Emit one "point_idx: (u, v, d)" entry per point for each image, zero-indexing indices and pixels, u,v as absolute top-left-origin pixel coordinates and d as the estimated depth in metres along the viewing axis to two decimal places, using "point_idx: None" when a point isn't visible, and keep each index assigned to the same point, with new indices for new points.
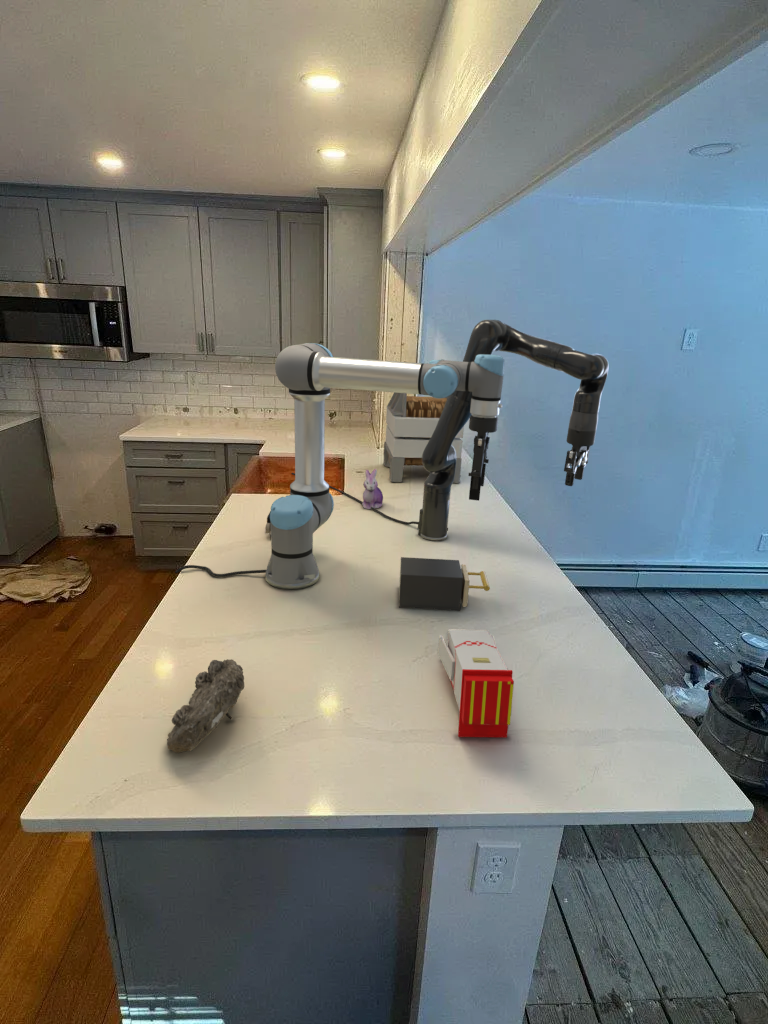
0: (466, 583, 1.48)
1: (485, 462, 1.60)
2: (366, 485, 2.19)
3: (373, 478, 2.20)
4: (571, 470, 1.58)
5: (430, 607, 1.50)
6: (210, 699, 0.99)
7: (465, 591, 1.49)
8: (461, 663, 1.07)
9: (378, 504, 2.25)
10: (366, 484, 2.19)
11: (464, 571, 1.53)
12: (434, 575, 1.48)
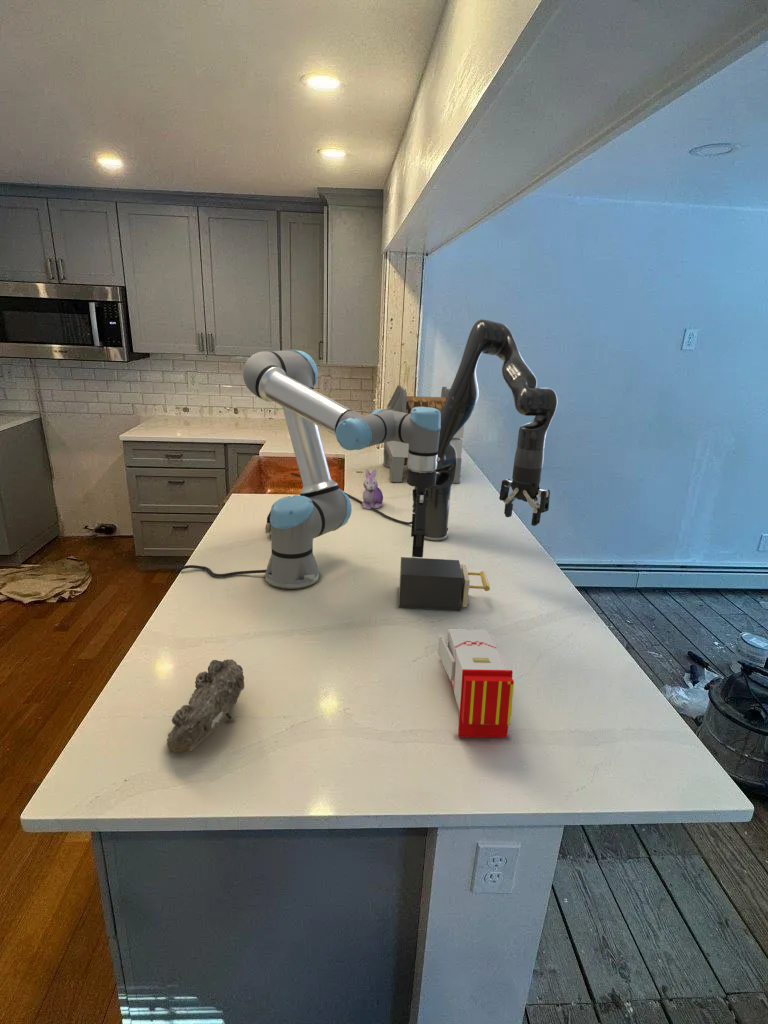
0: (466, 583, 1.48)
1: None
2: (366, 485, 2.19)
3: (373, 478, 2.20)
4: None
5: (430, 607, 1.50)
6: (210, 699, 0.99)
7: (465, 591, 1.49)
8: (461, 663, 1.07)
9: (378, 504, 2.25)
10: (366, 484, 2.19)
11: (464, 571, 1.53)
12: (434, 575, 1.48)
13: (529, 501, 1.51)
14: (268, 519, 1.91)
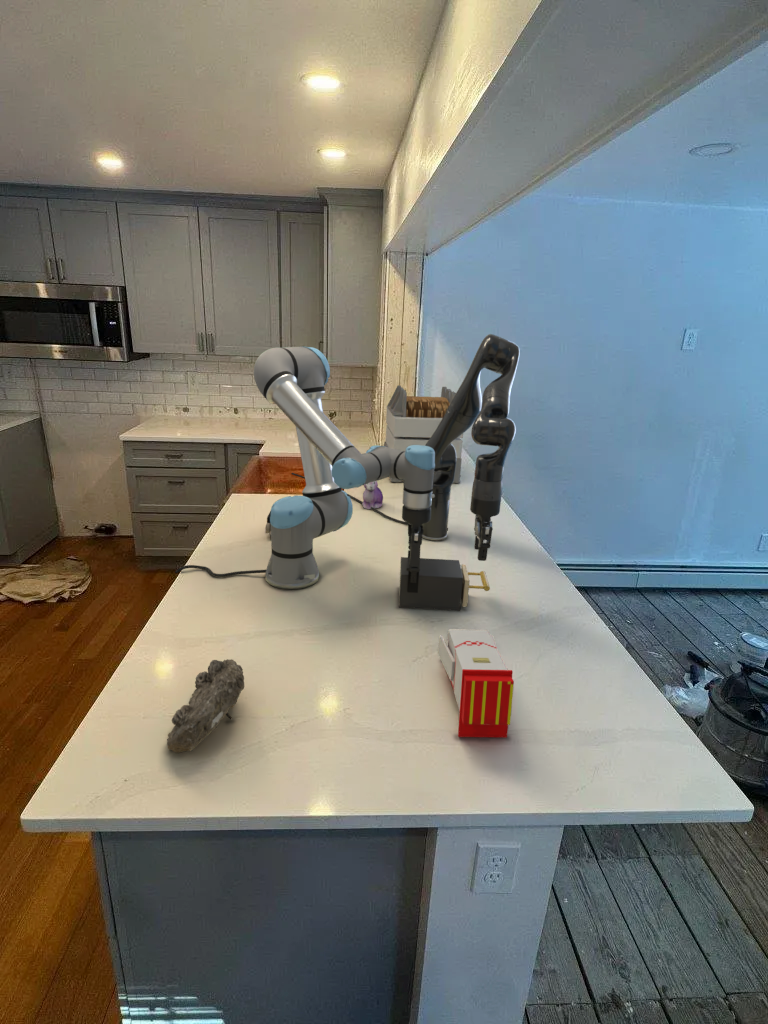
0: (466, 583, 1.48)
1: None
2: (366, 485, 2.19)
3: None
4: None
5: (430, 607, 1.50)
6: (210, 699, 0.99)
7: (465, 591, 1.49)
8: (461, 663, 1.07)
9: (378, 504, 2.25)
10: (366, 484, 2.19)
11: (464, 571, 1.53)
12: (434, 575, 1.48)
13: (477, 533, 1.46)
14: (268, 519, 1.91)
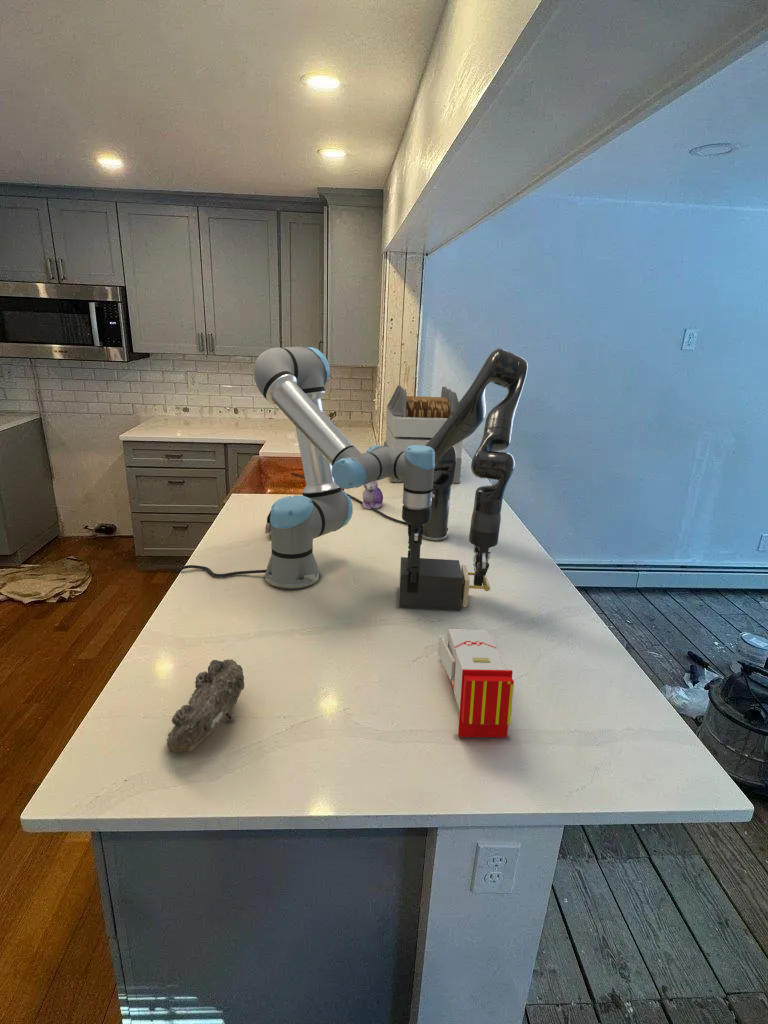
0: (466, 583, 1.48)
1: None
2: (366, 485, 2.19)
3: None
4: None
5: (430, 607, 1.50)
6: (210, 699, 0.99)
7: (465, 591, 1.49)
8: (461, 663, 1.07)
9: (378, 504, 2.25)
10: (366, 484, 2.19)
11: (464, 571, 1.53)
12: (434, 575, 1.48)
13: (474, 561, 1.50)
14: (268, 519, 1.91)
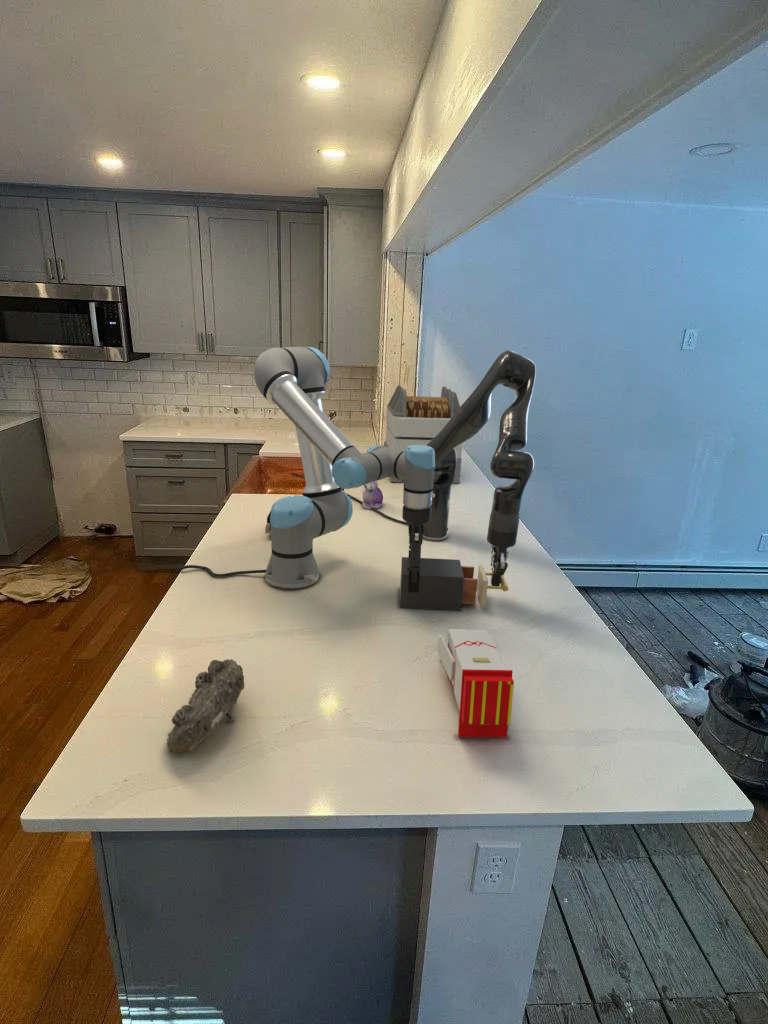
0: (484, 583, 1.48)
1: None
2: (366, 485, 2.19)
3: None
4: None
5: (431, 607, 1.50)
6: (210, 699, 0.99)
7: (483, 591, 1.49)
8: (461, 663, 1.07)
9: (378, 504, 2.25)
10: (366, 484, 2.19)
11: (482, 571, 1.53)
12: (435, 575, 1.48)
13: (492, 561, 1.50)
14: (268, 519, 1.91)
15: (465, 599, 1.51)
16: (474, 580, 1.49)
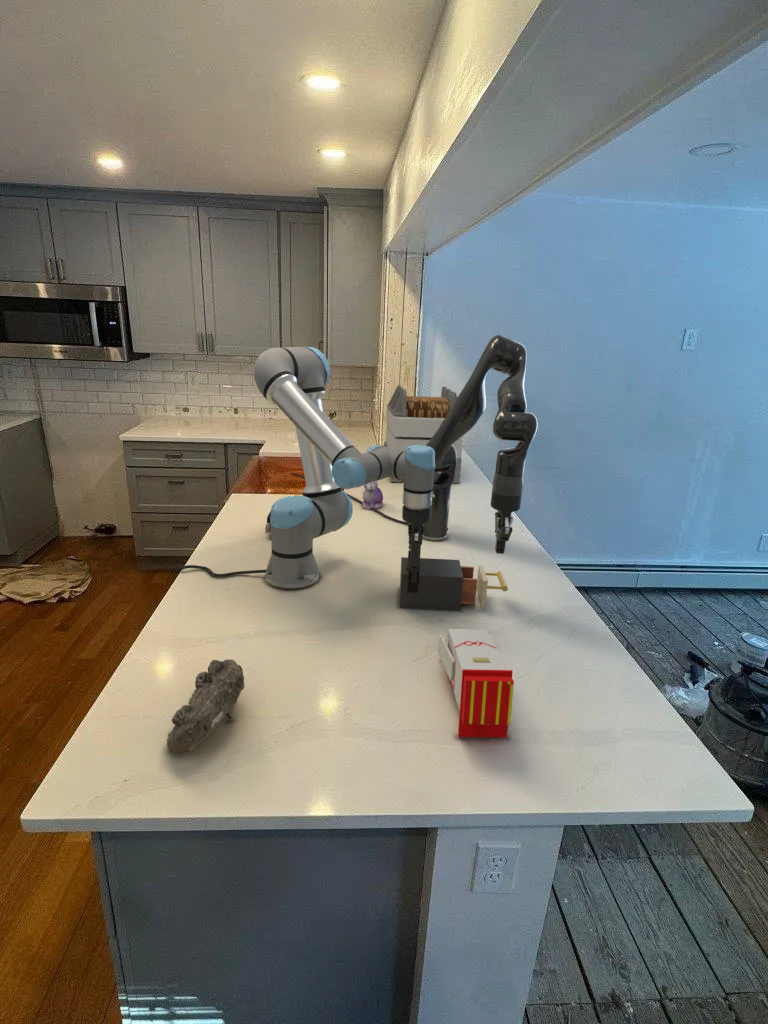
0: (484, 583, 1.48)
1: None
2: (366, 485, 2.19)
3: None
4: None
5: (431, 607, 1.50)
6: (210, 699, 0.99)
7: (483, 591, 1.49)
8: (461, 663, 1.07)
9: (378, 504, 2.25)
10: (366, 484, 2.19)
11: (482, 571, 1.53)
12: (434, 575, 1.48)
13: (496, 527, 1.47)
14: (268, 519, 1.91)
15: (465, 599, 1.51)
16: (474, 581, 1.49)
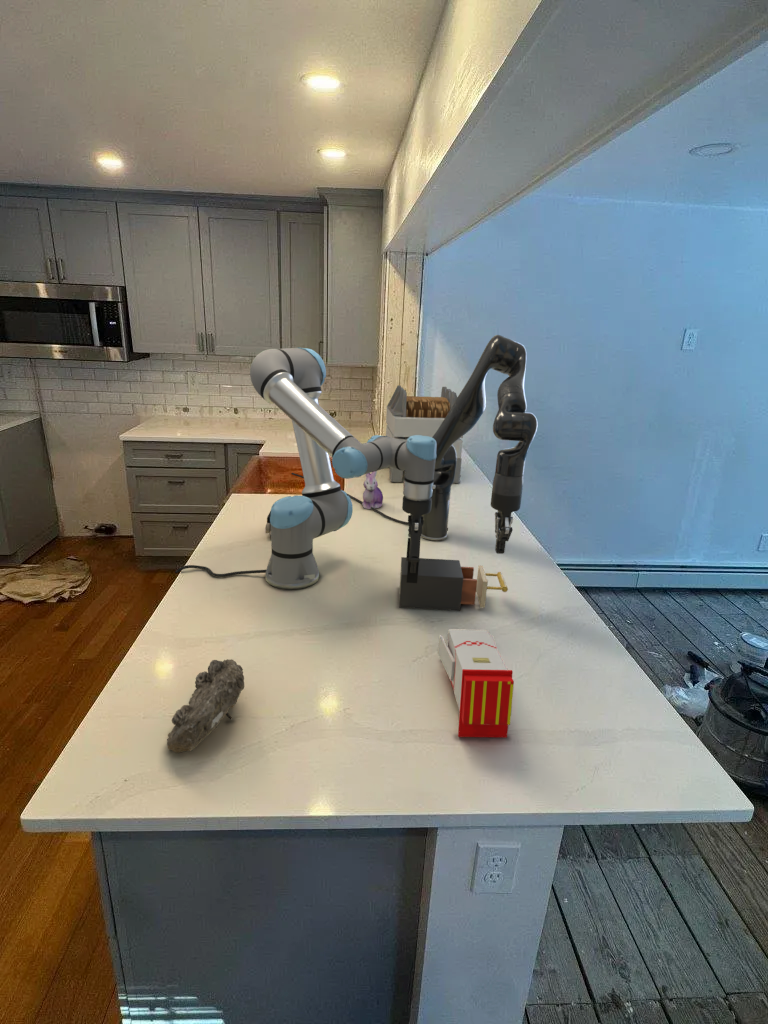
0: (484, 584, 1.48)
1: None
2: (366, 485, 2.19)
3: (373, 478, 2.20)
4: None
5: (430, 607, 1.50)
6: (210, 699, 0.99)
7: (483, 592, 1.49)
8: (461, 663, 1.07)
9: (378, 504, 2.25)
10: (366, 484, 2.19)
11: (481, 572, 1.53)
12: (434, 575, 1.48)
13: (496, 527, 1.47)
14: (268, 519, 1.91)
15: (465, 599, 1.51)
16: (474, 581, 1.49)
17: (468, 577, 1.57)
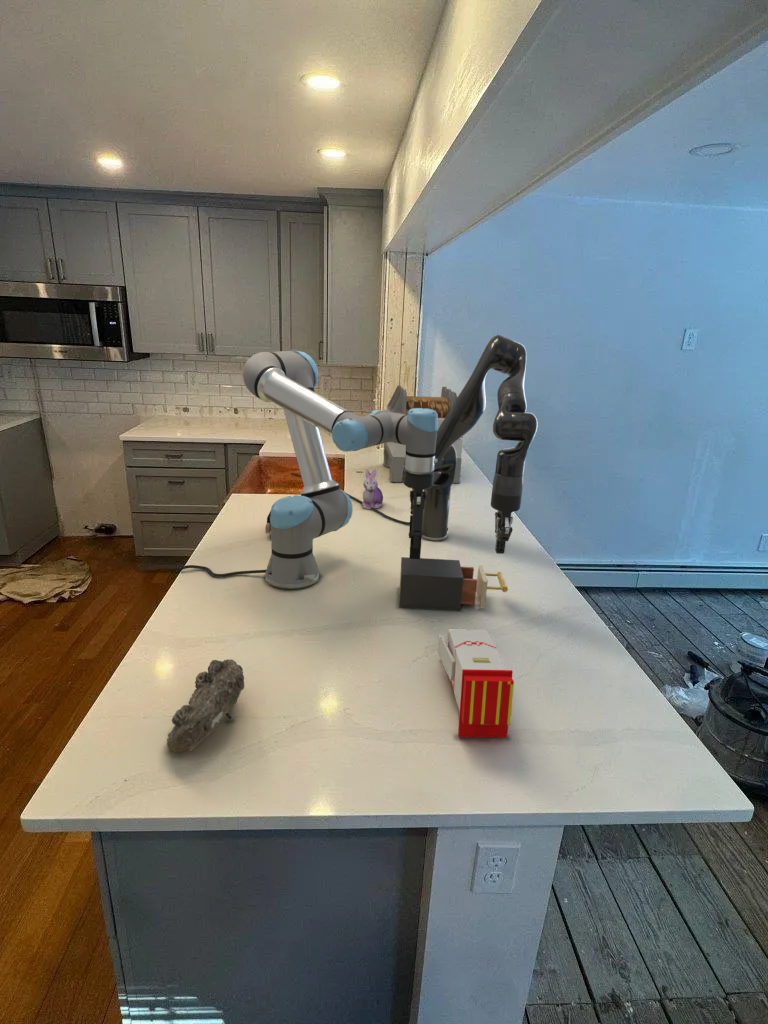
0: (484, 584, 1.48)
1: None
2: (366, 485, 2.19)
3: (373, 478, 2.20)
4: None
5: (430, 607, 1.50)
6: (210, 699, 0.99)
7: (483, 592, 1.49)
8: (461, 663, 1.07)
9: (378, 504, 2.25)
10: (366, 484, 2.19)
11: (481, 572, 1.53)
12: (434, 575, 1.48)
13: (496, 527, 1.47)
14: (268, 519, 1.91)
15: (465, 599, 1.51)
16: (474, 581, 1.49)
17: (468, 577, 1.57)
